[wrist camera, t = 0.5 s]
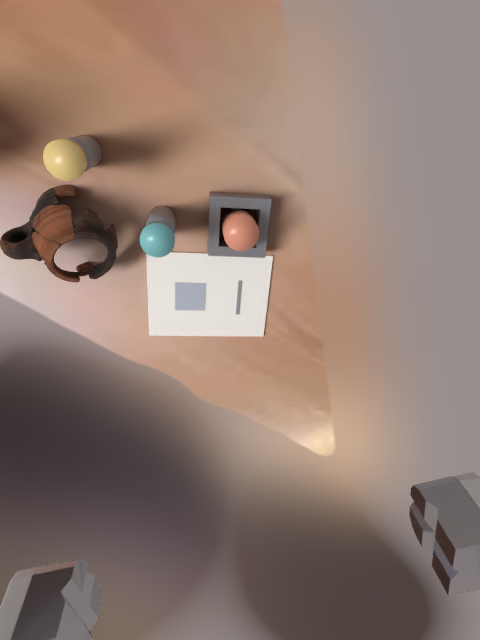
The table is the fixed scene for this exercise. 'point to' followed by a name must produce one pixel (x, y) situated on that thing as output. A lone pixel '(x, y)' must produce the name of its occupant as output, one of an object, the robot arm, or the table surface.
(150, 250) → the marker teal
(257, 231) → the button
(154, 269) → the paper
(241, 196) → the button housing
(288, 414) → the table surface
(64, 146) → the marker ochre
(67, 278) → the pottery mug
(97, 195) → the table surface
